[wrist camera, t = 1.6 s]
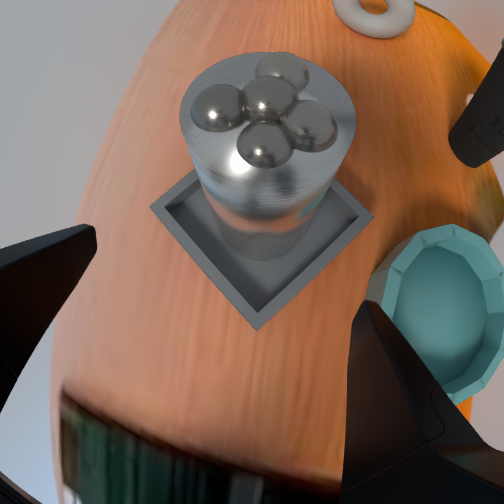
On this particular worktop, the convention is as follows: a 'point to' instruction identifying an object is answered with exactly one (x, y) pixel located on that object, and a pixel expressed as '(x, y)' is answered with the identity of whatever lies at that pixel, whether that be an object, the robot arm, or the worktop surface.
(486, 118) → the drinking cup
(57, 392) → the worktop surface
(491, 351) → the bowl
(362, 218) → the parts tray
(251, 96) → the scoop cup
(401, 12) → the donut
